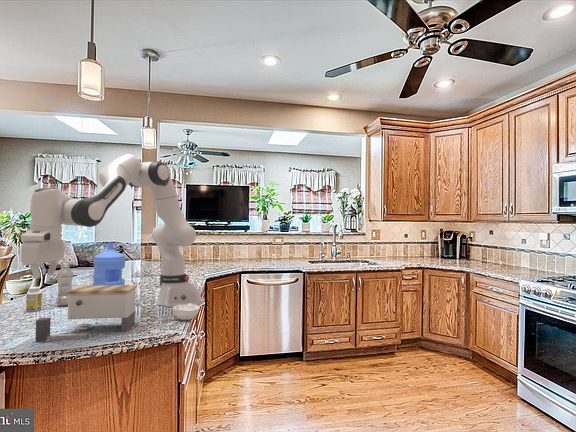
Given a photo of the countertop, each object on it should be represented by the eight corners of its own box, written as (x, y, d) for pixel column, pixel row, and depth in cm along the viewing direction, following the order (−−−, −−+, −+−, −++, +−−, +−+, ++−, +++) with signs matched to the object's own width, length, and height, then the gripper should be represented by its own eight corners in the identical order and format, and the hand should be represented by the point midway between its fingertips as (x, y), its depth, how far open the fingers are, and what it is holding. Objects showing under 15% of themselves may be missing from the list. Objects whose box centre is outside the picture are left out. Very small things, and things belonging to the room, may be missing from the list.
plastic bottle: (64, 307, 159) (65, 264, 160) (52, 306, 161) (53, 263, 161) (76, 304, 166) (77, 262, 166) (64, 303, 167) (65, 262, 167)
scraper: (89, 336, 120) (90, 316, 120) (86, 339, 117) (86, 318, 117) (40, 338, 118) (40, 317, 118) (35, 341, 115) (36, 320, 115)
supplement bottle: (39, 308, 158) (40, 285, 158) (43, 310, 154) (43, 287, 154) (24, 310, 154) (25, 287, 154) (27, 312, 150) (28, 289, 150)
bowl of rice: (184, 314, 151) (185, 298, 151) (205, 318, 145) (205, 302, 145) (165, 319, 142) (166, 303, 142) (186, 324, 136) (187, 307, 136)
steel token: (93, 327, 131) (93, 323, 132) (88, 331, 127) (88, 327, 127) (79, 327, 131) (79, 323, 131) (73, 332, 126) (73, 327, 126)
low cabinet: (136, 323, 137) (137, 284, 137) (127, 332, 125) (128, 291, 125) (78, 324, 133) (79, 285, 134) (63, 335, 121) (64, 292, 122)
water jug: (86, 295, 185) (87, 243, 186) (106, 290, 201) (107, 241, 201) (112, 297, 183) (113, 244, 183) (130, 291, 198) (131, 242, 199)
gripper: (51, 233, 127) (50, 271, 127) (17, 235, 107) (15, 280, 106) (69, 234, 128) (68, 271, 128) (39, 236, 108) (38, 280, 107)
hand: (44, 275), depth 117 cm, fingers open, 8 cm apart
